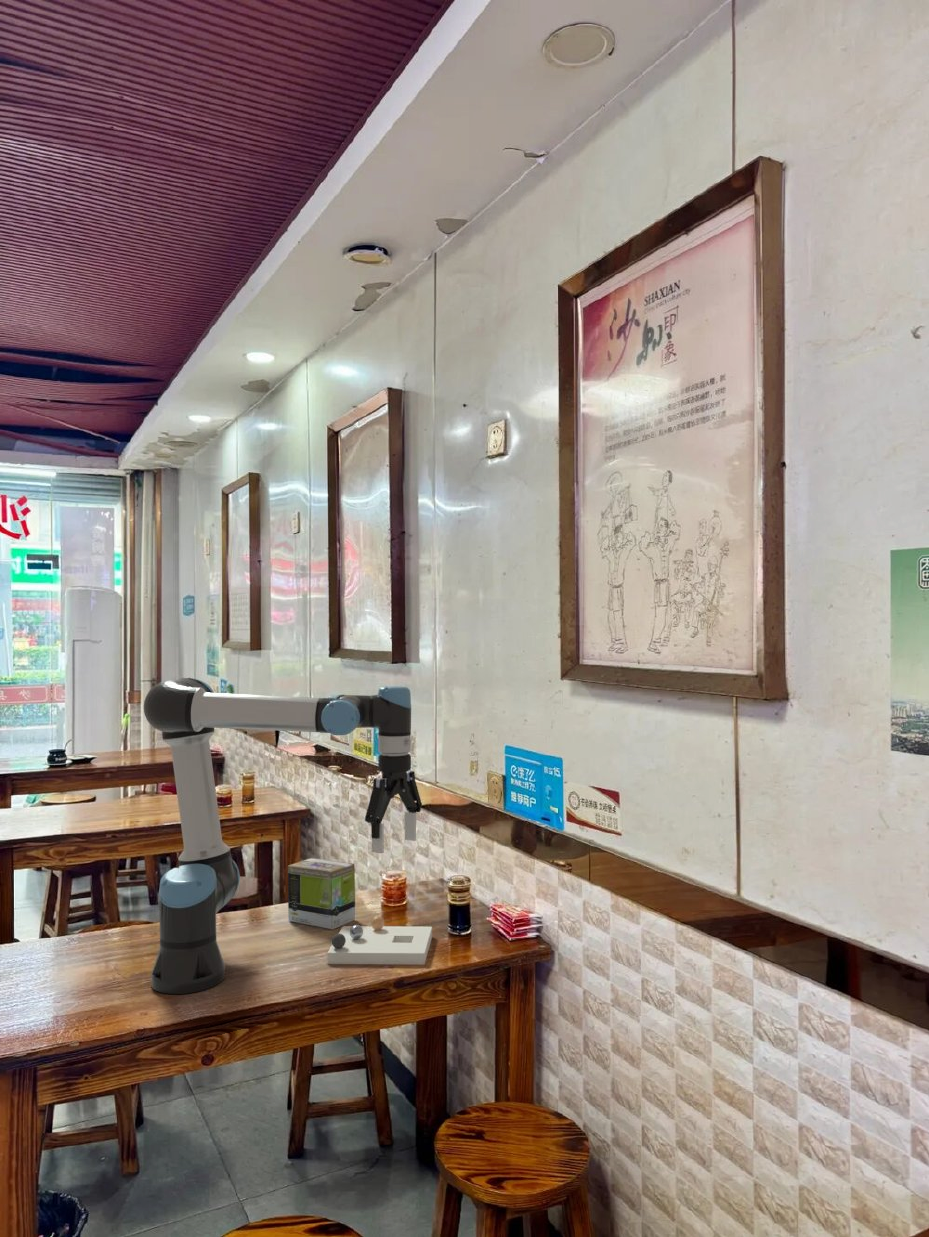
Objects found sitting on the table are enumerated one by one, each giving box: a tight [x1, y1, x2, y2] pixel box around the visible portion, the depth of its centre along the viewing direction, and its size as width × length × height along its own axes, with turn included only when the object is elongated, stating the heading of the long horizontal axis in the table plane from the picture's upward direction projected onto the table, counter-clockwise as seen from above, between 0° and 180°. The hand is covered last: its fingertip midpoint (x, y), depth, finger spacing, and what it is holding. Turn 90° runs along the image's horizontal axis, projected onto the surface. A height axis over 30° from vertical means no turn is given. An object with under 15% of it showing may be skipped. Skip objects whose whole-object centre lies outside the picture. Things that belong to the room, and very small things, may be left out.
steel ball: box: [350, 924, 363, 939], centre depth 203 cm, size 3×3×3 cm
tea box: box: [287, 857, 356, 930], centre depth 224 cm, size 15×10×15 cm
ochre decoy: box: [370, 915, 385, 930], centre depth 209 cm, size 3×3×3 cm
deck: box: [326, 925, 433, 966], centre depth 202 cm, size 22×18×2 cm
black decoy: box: [331, 933, 346, 948], centre depth 197 cm, size 3×3×3 cm
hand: (394, 846), depth 198 cm, fingers open, 13 cm apart
